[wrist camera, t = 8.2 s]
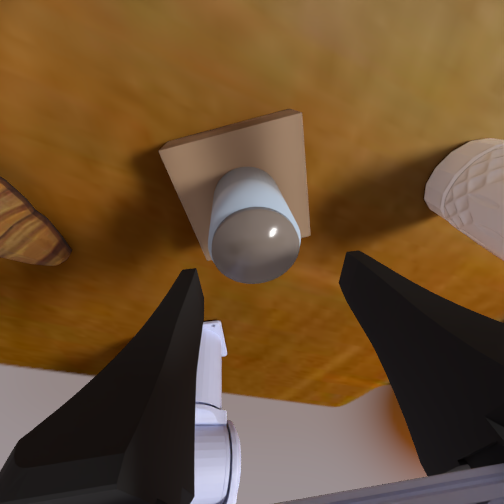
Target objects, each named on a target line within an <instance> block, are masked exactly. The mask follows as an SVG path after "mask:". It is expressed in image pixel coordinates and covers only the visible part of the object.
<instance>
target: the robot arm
mask: <svg viewBox="0 0 504 504" xmlns="http://www.w3.org/2000/svg"><path fill="white" fill-rule="evenodd" d="M339 284H340V287H341V289H342V292H343V294H344V296H345V299H346V301H347V303H348V304H349V306H350V308H351V310H352V311H353V313H354V315H355V316H356V318H357V320H358V321H359V323H360V325H361V327H362V328H363V330H364V332H365V333H366V335H367V337H368V338H369V340H370V342H371V343H372V345H373V347H374V349H375V351H376V353H377V355H378V357H379V359H380V362H381V364H382V366H383V368H384V370H385V372H386V375H387V377H388V379H389V381H390V384H391V386H392V388H393V390H394V393H395V395H396V398H397V400H398V403H399V405H400V408H401V410H402V413H403V415H404V418H405V420H406V423H407V426H408V429H409V431H410V434H411V437H412V440H413V442H414V445H415V448H416V451H417V454H418V456H419V459H420V463H421V465H422V466H423V468H424V470H425V472H426V474H427V476H428V477H422V478H416V479H411V480H406V481H399V482H394V483H388V484H382V485H377V486H371V487H365V488H360V489H354V490H348V491H343V492H337V493H331V494H325V495H320V496H314V497H308V498H303V499H297V500H291V501H286V502H280V503H274V504H504V323H502V322H499V321H496V320H494V319H491V318H489V317H486V316H484V315H481V314H479V313H476V312H474V311H471V310H469V309H467V308H464V307H462V306H460V305H458V304H455V303H453V302H451V301H449V300H447V299H445V298H443V297H440V296H438V295H436V294H434V293H432V292H430V291H428V290H427V289H425V288H423V287H421V286H419V285H417V284H415V283H413V282H412V281H410V280H408V279H406V278H405V277H403V276H401V275H399V274H398V273H396V272H394V271H393V270H391V269H389V268H388V267H386V266H384V265H383V264H381V263H379V262H378V261H376V260H375V259H373V258H371V257H369V256H368V255H366V254H364V253H362V252H361V251H351V252H346V256H345V260H344V264H343V268H342V272H341V276H340V280H339ZM203 320H204V296H203V293H202V289H201V285H200V281H199V277H198V273H197V270H196V268H194V269H185V270H182V271H181V273H180V274H179V276H178V278H177V279H176V281H175V282H174V284H173V286H172V287H171V289H170V290H169V292H168V293H167V295H166V296H165V298H164V299H163V301H162V302H161V303H160V305H159V306H158V308H157V309H156V310H155V312H154V313H153V314H152V316H151V317H150V318H149V319H148V321H147V322H146V323H145V325H144V326H143V327H142V328H141V329H140V331H139V332H138V333H137V334H136V335H135V336H134V338H133V339H132V340H131V341H130V342H129V343H128V344H127V345H126V346H125V348H124V349H123V350H122V351H121V352H120V353H119V354H118V355H117V356H116V357H115V358H114V359H113V360H112V361H111V362H110V363H109V364H108V365H107V366H106V367H105V368H104V369H103V370H102V371H101V372H100V373H99V374H98V375H96V376H95V377H94V378H93V379H92V380H91V381H90V382H89V383H88V384H87V385H85V386H84V387H83V388H82V389H81V390H80V391H79V392H78V393H76V395H74V396H73V397H72V398H71V399H70V400H68V401H67V402H66V403H65V404H64V405H62V406H61V407H60V408H59V409H58V410H56V411H55V412H54V413H53V414H51V415H50V416H49V417H48V418H46V419H45V420H44V421H43V422H42V423H40V424H39V425H38V426H36V427H35V428H34V429H33V430H32V431H30V432H29V433H28V434H26V435H25V436H24V437H23V438H21V439H20V440H19V441H18V443H17V444H16V446H15V447H14V449H13V451H12V452H11V454H10V456H9V457H8V459H7V461H6V463H5V464H4V466H3V468H2V469H1V471H0V504H236V500H237V499H236V498H237V491H238V487H239V482H240V474H241V447H240V440H239V435H238V432H237V430H236V428H235V427H234V424H233V423H232V422H231V421H230V420H227V416H226V415H227V411H226V410H222V407H221V406H222V405H221V401H222V399H221V398H222V392H221V357H222V356H226V355H227V349H226V345H225V340H224V335H223V330H222V325H221V322H220V321H209V322H203Z"/></svg>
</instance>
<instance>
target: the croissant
mask: <svg viewBox="0 0 504 504" xmlns="http://www.w3.org/2000/svg"><path fill="white" fill-rule="evenodd" d="M71 251H72V250H71V248H70V247H69V245H68V244H67V242H66V241H65V239H64V238H63V236H62V235H61V234H60V233H59V231H58V230H57V229H56V228H55V227H54V226H53V224H52V223H51V222H50V221H49V220H48V218H46V217H45V216H44V215H42V214H41V213H39V212H38V211H37V210H35V209H34V207H33V206H32V205H31V204H30V203H29V201H28V200H27V199H26V198H25V197H24V196H23V195H22V194H21V193H19V192H18V191H17V190H16V189H15V188H14V187H13V186H12V185H11V184H9V183H8V182H7V181H6V180H5V179H3V178H2V177H0V257H2V258H6V259H11V260H15V261H19V262H24V263H28V264H37V265H48V266H55V265H58V264H61V263H62V262H64V261H66V260H67V259H68V257H69V256H70V254H71Z"/></svg>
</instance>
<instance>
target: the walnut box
mask: <svg viewBox="0 0 504 504" xmlns="http://www.w3.org/2000/svg"><path fill="white" fill-rule="evenodd" d="M159 154H160V156H161V158H162V160H163V163H164V165H165V167H166V169H167V172H168V174H169V176H170V178H171V181H172V183H173V185H174V187H175V189H176V192H177V194H178V196H179V198H180V201H181V203H182V205H183V207H184V210H185V212H186V214H187V216H188V219H189V221H190V223H191V225H192V228H193V230H194V232H195V234H196V237H197V239H198V241H199V243H200V246H201V248H202V250H203V252H204V255H205V257H206V259H207V261H209V260H212V258H211V256H210V254H209V250H208V237H209V229H210V221H211V212H212V204H213V196H214V191H215V188H216V186H217V183H218V182H219V180H220V179H221V178H222V177H223V176H224V175H225V174H226V173H228V172H229V171H231V170H233V169H236V168H239V167H255V168H259V169H261V170H263V171H265V172H266V173H268V174H269V175H270V176H271V177H272V178H273V179H274V181H275V182H276V184H277V186H278V188H279V190H280V192H281V194H282V196H283V198H284V200H285V201H286V203H287V205H288V207H289V209H290V211H291V213H292V215H293V217H294V219H295V221H296V223H297V225H298V227H299V230H300V234H301V238H303V237H307V236H311V234H310V219H309V205H308V191H307V177H306V162H305V148H304V134H303V119H302V112H299V111H295V110H292V109H287V110H283V111H279V112H276V113H272V114H268V115H265V116H261V117H257V118H253V119H250V120H246V121H242V122H239V123H235V124H231V125H227V126H224V127H220V128H216V129H213V130H209V131H205V132H201V133H198V134H194V135H190V136H187V137H183V138H179V139H175V140H172V141H168V142H167V143H166V144H165V145H164V146H163V147H162V148H161V149H160V150H159Z"/></svg>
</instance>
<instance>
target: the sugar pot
mask: <svg viewBox="0 0 504 504" xmlns="http://www.w3.org/2000/svg"><path fill="white" fill-rule="evenodd" d="M300 243H301V234H300V230H299V227H298V225H297V223H296V221H295V219H294V217H293V215H292V213H291V211H290V209H289V207H288V205H287V203H286V201H285V200H284V198H283V196H282V194H281V192H280V190H279V188H278V186H277V184H276V182H275V181H274V179H273V178H272V177H271V176H270V175H269V174H268V173H266V172H265V171H263V170H261V169H259V168H255V167H239V168H236V169H233V170H231V171H229V172H228V173H226V174H225V175H224V176H223V177H222V178H221V179H220V180H219V182H218V183H217V186H216V188H215V191H214V196H213V204H212V212H211V221H210V229H209V237H208V250H209V254H210V256H211V258H212V260H213V262H214V263H215V265H216V267H217V268H218V269H219V270H220V271H221V273H223V274H224V275H225V276H227V277H228V278H230V279H232V280H235V281H238V282H242V283H249V284H255V283H263V282H267V281H270V280H273V279H275V278H277V277H279V276H281V275H282V274H284V273H285V272H286V271H287V270H288V269H289V268H290V267H291V266H292V265H293V263H294V262H295V260H296V258H297V256H298V253H299V248H300Z"/></svg>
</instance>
